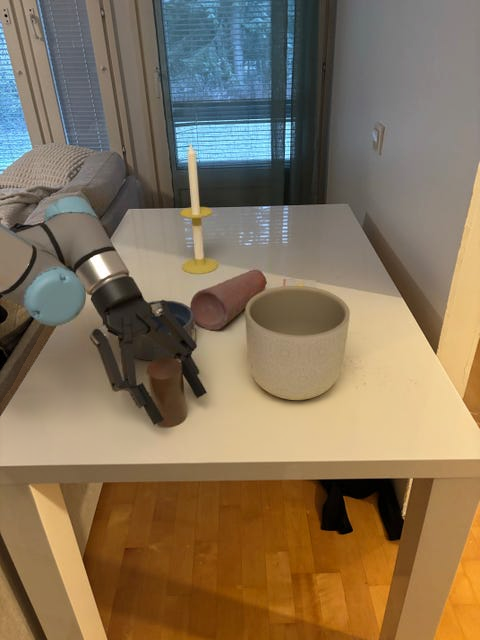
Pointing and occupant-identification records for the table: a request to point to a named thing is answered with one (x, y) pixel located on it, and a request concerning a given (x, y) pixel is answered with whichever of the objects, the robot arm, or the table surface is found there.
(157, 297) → the table surface
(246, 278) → the pink vase
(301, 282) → the tea bag
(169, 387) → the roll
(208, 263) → the candle
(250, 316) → the planter
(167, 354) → the bowl
